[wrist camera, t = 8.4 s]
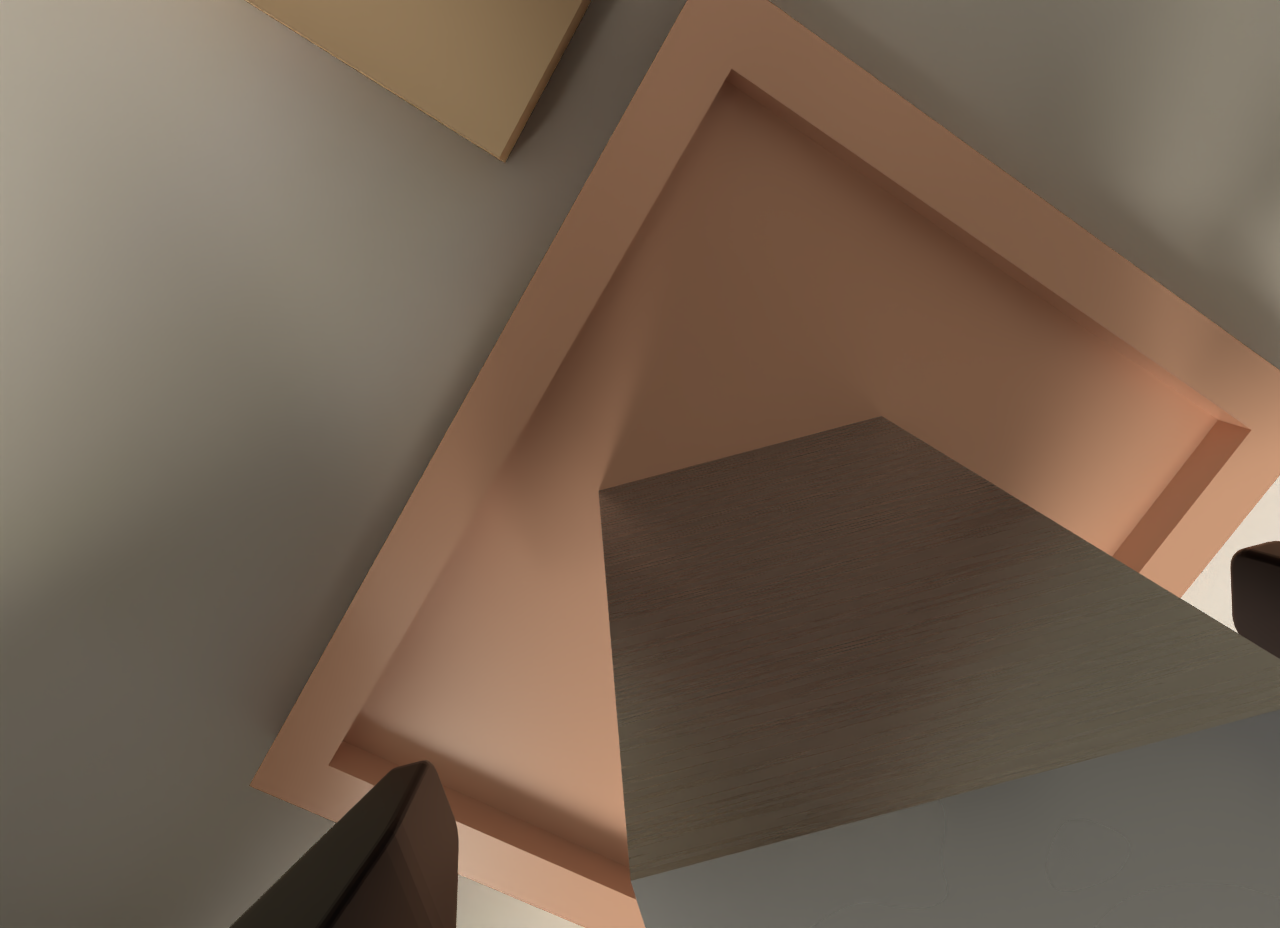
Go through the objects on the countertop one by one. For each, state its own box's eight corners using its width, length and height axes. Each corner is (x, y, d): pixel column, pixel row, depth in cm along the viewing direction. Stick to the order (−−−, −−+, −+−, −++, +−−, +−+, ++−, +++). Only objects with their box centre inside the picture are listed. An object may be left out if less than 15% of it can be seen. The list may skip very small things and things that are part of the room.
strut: (924, 667, 12) (1338, 1189, 6) (667, 734, 12) (774, 1338, 6) (881, 416, 11) (1335, 694, 4) (598, 491, 11) (630, 879, 4)
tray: (814, 977, 14) (831, 1031, 13) (274, 742, 12) (249, 785, 11) (1272, 394, 12) (1333, 408, 11) (696, -16, 10) (710, -42, 9)
